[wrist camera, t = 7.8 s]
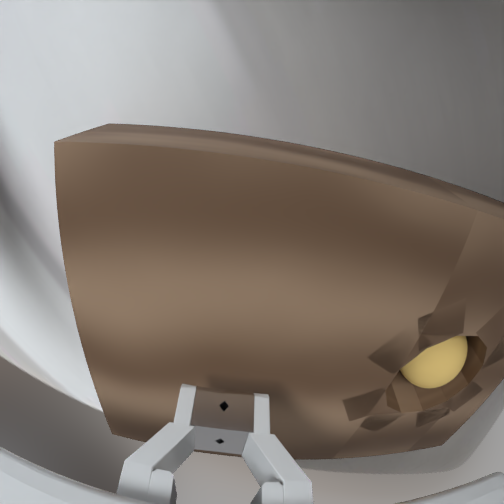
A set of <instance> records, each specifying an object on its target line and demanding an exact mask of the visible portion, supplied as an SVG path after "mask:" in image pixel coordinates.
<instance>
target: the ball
mask: <svg viewBox="0 0 504 504" xmlns="http://www.w3.org/2000/svg"><path fill="white" fill-rule="evenodd" d="M467 349H468V345H467V339H466V336H455V337H453V338H450V339H448V340H446V341H444V342H441V343H439V344H436V345H434V346H432V347H429V348H427V349H425V350H424V351H423V352H422V353H420V354H419V355H418V356H417V357H415V358H414V359H413V360H412V361H410V362H409V363H408V364H406V365H405V366H404V367H402V368H401V369H400V371H401V373H402V374H403V376H404V377H405V378H406V379H407V380H408V381H409V382H411V383H412V384H414V385H416V386H418V387H422V388H436V387H440V386H443V385H445V384H447V383H448V382H450V381H451V380H453V379H454V378H455V377H456V376H457V375H458V373H459V372H460V371H461V369H462V367H463V365H464V363H465V360H466V357H467Z"/></svg>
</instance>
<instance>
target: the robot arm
mask: <svg viewBox="0 0 504 504" xmlns="http://www.w3.org/2000/svg"><path fill="white" fill-rule="evenodd" d="M194 449H197V450H206V451H216V452H224V453H232V454H241V455H242V457H243V459H244V461H245V462H246V464H247V466H248V467H249V469H250V470H251V472H252V474H253V475H254V477H255V478H256V480H257V482H258V484H259V485H260V487H261V488H260V489H259V491H258V493H257V494H256V495H255V497H254V498H253V500H252V502H251V504H313V492H312V482H311V480H310V479H309V478H308V476H307V475H306V474H305V473H304V472H303V470H302V469H301V468H300V466H299V465H298V464H297V463H296V461H295V460H294V459H293V458H292V456H291V455H290V454H289V453H288V451H287V450H286V449H285V447H284V446H283V445H282V443H281V442H280V441H279V440H278V438H277V437H276V436H275V434H270V401H269V395H268V394H259V393H252V392H241V391H231V390H219V389H212V388H206V387H200V386H194V385H188V384H182V386H181V389H180V393H179V398H178V403H177V408H176V413H175V418H174V423H173V422H169V423H168V424H167V425H165V426H164V427H163V428H162V429H161V430H160V431H159V432H157V433H156V434H155V435H154V436H153V437H152V438H151V439H149V440H148V441H147V442H146V443H145V444H144V445H143V446H141V447H140V448H139V449H138V450H137V451H135V452H134V453H133V454H132V455H131V456H129V457H128V458H127V459H126V460H125V462H124V466H123V470H122V474H121V478H120V481H119V485H118V489H117V493H116V494H115V493H111V492H108V491H105V490H101V489H98V488H95V487H92V486H89V485H86V484H83V483H80V482H78V481H75V480H72V479H69V478H67V477H64V476H62V475H59V474H57V473H54V472H52V471H49V470H47V469H45V468H43V467H40V466H38V465H36V464H34V463H31V462H29V461H27V460H25V459H23V458H21V457H19V456H17V455H15V454H13V453H11V452H9V451H7V450H6V449H4V448H2V447H0V504H176V499H177V492H176V486H175V480H174V476H173V473H174V472H175V471H176V470H177V468H179V467H180V465H181V464H182V463H183V462H184V461H185V460H186V459H187V458H188V457H189V455H191V453H192V452H193V451H194ZM396 504H504V474H503V473H501V472H496V473H492V474H490V475H487V476H485V477H482V478H480V479H477V480H475V481H472V482H469V483H467V484H464V485H461V486H458V487H455V488H452V489H449V490H445V491H442V492H439V493H436V494H432V495H428V496H425V497H421V498H417V499H413V500H409V501H405V502H400V503H396Z"/></svg>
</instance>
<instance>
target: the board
mask: <svg viewBox="0 0 504 504" xmlns="http://www.w3.org/2000/svg"><path fill="white" fill-rule="evenodd" d="M54 156H55V183H56V198H57V210H58V220H59V229H60V237H61V245H62V252H63V259H64V265H65V271H66V277H67V282H68V287H69V292H70V297H71V302H72V307H73V311H74V316H75V320H76V324H77V328H78V332H79V336H80V340H81V343H82V347H83V351H84V354H85V358H86V361H87V364H88V368H89V371H90V374H91V377H92V380H93V383H94V386H95V389H96V392H97V395H98V398H99V401H100V404H101V406H102V409H103V412H104V414H105V417H106V420H107V422H108V425H109V427H110V429H111V432H112V434H114V435H118V436H122V437H126V438H130V439H134V440H138V441H143V442H147V441H148V440H149V439H151V438H152V437H153V436H154V435H155V434H156V433H157V432H159V431H160V430H161V429H162V428H163V427H164V426H165V425H167V424H168V423H169V422H173V423H174V418H175V413H176V408H177V403H178V398H179V393H180V389H181V386H182V384H188V385H194V386H200V387H206V388H212V389H219V390H231V391H241V392H252V393H259V394H268V395H269V401H270V434H275V436H276V437H277V438H278V440H279V441H280V442H281V443H282V445H283V446H284V447H285V449H286V450H287V451H288V453H289V454H290V455H291V456H292V458H293V459H338V458H354V457H366V456H376V455H385V454H393V453H400V452H407V451H413V450H419V449H425V448H430V447H435V446H440V445H442V444H444V443H445V442H446V441H447V440H448V439H449V438H450V437H451V436H452V435H453V434H454V433H455V432H456V431H457V430H458V429H459V428H460V427H461V426H462V425H463V424H464V423H465V422H466V421H467V420H468V419H469V418H470V417H471V416H472V415H473V414H474V412H475V411H476V410H477V409H478V408H479V407H480V406H481V405H482V404H483V403H484V401H485V400H486V399H487V398H488V397H489V396H490V394H491V393H492V392H493V391H494V390H495V388H496V387H497V386H498V385H499V384H500V382H501V381H502V380H503V379H504V203H502V202H500V201H497V200H495V199H492V198H490V197H487V196H484V195H482V194H479V193H476V192H473V191H471V190H468V189H465V188H462V187H459V186H456V185H453V184H450V183H447V182H444V181H441V180H438V179H435V178H432V177H429V176H425V175H422V174H419V173H415V172H412V171H409V170H405V169H402V168H398V167H394V166H391V165H387V164H383V163H380V162H376V161H372V160H368V159H364V158H360V157H355V156H351V155H347V154H343V153H338V152H334V151H329V150H324V149H320V148H315V147H310V146H305V145H299V144H294V143H289V142H283V141H277V140H271V139H265V138H259V137H252V136H245V135H238V134H231V133H223V132H215V131H206V130H197V129H187V128H176V127H163V126H149V125H131V124H106V125H103V126H100V127H96V128H93V129H90V130H87V131H84V132H81V133H78V134H75V135H72V136H69V137H66V138H63V139H61V140H58V141H55V142H54ZM455 336H466V339H467V345H468V349H467V357H466V360H465V363H464V365H463V367H462V369H461V371H460V372H459V373H458V375H457V376H456V377H455V378H454V379H453V380H451V381H450V382H448V383H447V384H445V385H443V386H440V387H436V388H422V387H418V386H416V385H414V384H412V383H411V382H409V381H408V380H407V379H406V378H405V377H404V376H403V374H402V373H401V371H400V369H401V368H402V367H404V366H405V365H406V364H408V363H409V362H410V361H412V360H413V359H414V358H415V357H417V356H418V355H419V354H420V353H422V352H423V351H424V350H425V349H427V348H429V347H432V346H434V345H436V344H439V343H441V342H444V341H446V340H448V339H450V338H453V337H455ZM194 451H196V452H203V453H210V454H219V455H227V456H238V457H242V455H241V454H232V453H224V452H216V451H206V450H197V449H194Z"/></svg>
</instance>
